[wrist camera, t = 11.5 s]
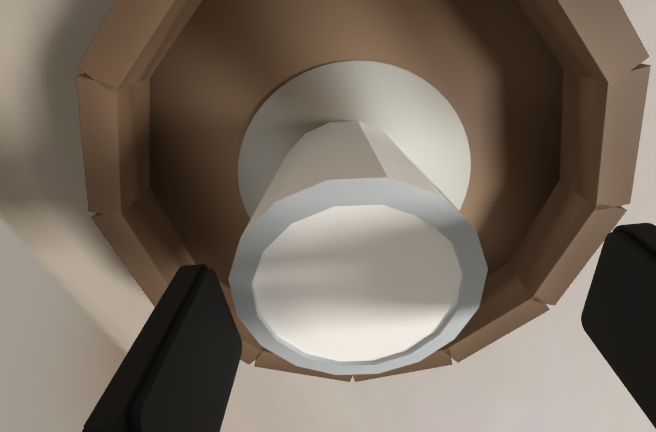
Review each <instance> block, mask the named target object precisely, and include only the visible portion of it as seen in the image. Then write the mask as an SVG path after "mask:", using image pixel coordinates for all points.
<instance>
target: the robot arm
mask: <svg viewBox="0 0 656 432" xmlns="http://www.w3.org/2000/svg"><path fill="white" fill-rule="evenodd" d="M581 322H582V326H583V328H584V330H585V332H586V333H587V335H588V336H589V337H590V339H591V340H592V341H593V343H594V344H595V346H596V347H597V348H598V350H599V351H600V352H601V354H602V355H603V357H604V358H605V359H606V361H607V362H608V363H609V365H610V366H611V368H612V369H613V370H614V372H615V373H616V375H617V376H618V377H619V379H620V380H621V381H622V383H623V384H624V386H625V387H626V388H627V390H628V391H629V392H630V394H631V395H632V397H633V398H634V399H635V401H636V402H637V403H638V405H639V406H640V408H641V409H642V410H643V412H644V413H645V414H646V416H647V417H648V419H649V420H650V421H651V423H652V424H653V425H654V427H655V428H656V226H655V225H653V224H651V223H640V224H629V225H620V226H617V227H616V228H615V229H614V230H613V232H612V233H609V234H608V235H607V236H606V238H605V241H604V244H603V247H602V251H601V254H600V257H599V260H598V264H597V267H596V270H595V273H594V276H593V280H592V283H591V286H590V289H589V293H588V296H587V299H586V302H585V305H584V309H583V312H582V316H581ZM241 354H242V340H241V337H240V334H239V332H238V329H237V327H236V324H235V321H234V319H233V316H232V314H231V311H230V309H229V306H228V303H227V301H226V298H225V296H224V293H223V291H222V288H221V285H220V283H219V280H218V278H217V275H216V273H215V271H214V270H213V269H209V268H208V267H207V266H206V265H205V264H196V265H185V266H181V267H180V268H179V269H178V270H177V272H176V274H175V275H174V277H173V279H172V280H171V282H170V284H169V285H168V287H167V289H166V290H165V292H164V294H163V295H162V297H161V299H160V300H159V302H158V304H157V305H156V307H155V309H154V310H153V312H152V314H151V315H150V317H149V319H148V320H147V322H146V324H145V325H144V327H143V328H142V330H141V332H140V333H139V335H138V337H137V338H136V340H135V342H134V343H133V345H132V347H131V348H130V350H129V352H128V353H127V355H126V357H125V358H124V360H123V362H122V364H121V365H120V367H119V368H118V370H117V372H116V373H115V375H114V377H113V378H112V380H111V382H110V383H109V385H108V387H107V388H106V390H105V392H104V393H103V395H102V397H101V398H100V400H99V402H98V403H97V405H96V406H95V408H94V410H93V412H92V413H91V415H90V417H89V418H88V420H87V421H86V423H85V425H84V429H83V431H82V432H220V428H221V425H222V421H223V418H224V414H225V411H226V407H227V403H228V400H229V396H230V393H231V389H232V386H233V382H234V379H235V375H236V372H237V368H238V365H239V361H240V357H241Z"/></svg>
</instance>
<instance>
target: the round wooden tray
mask: <svg viewBox="0 0 656 432" xmlns="http://www.w3.org/2000/svg"><path fill="white" fill-rule="evenodd" d="M648 57H649V55H648V53H647V51H646V50H645V48H644V46H643V44H642V42H641V40H640V39H639V37H638V35H637V33H636V31H635V29H634V28H633V26H632V24H631V22H630V20H629V18H628V17H627V15H626V13H625V11H624V9H623V7H622V6H621V4H620V2H619V0H116V1H115V3H114V5H113V7H112V8H111V10H110V12H109V14H108V15H107V17H106V19H105V20H104V22H103V24H102V26H101V27H100V29H99V31H98V33H97V34H96V36H95V38H94V40H93V41H92V43H91V45H90V47H89V48H88V50H87V52H86V53H85V55H84V57H83V59H82V60H81V62H80V64H79V66H78V68H80V69H81V70H82V71H83V72H85V74H81V75H77V76H76V82H77V92H78V103H79V113H80V124H81V135H82V145H83V156H84V166H85V177H86V187H87V198H88V209H89V211H91V212H96V214H95V215H94V216H93V217H92V219H93V221H94V222H95V224H96V225H97V226H98V228H99V229H100V231H101V232H102V233H103V235H104V236H105V238H106V239H107V240H108V242H109V243H110V245H111V246H112V247H113V249H114V250H115V252H116V253H117V254H118V256H119V257H120V259H121V260H122V262H123V263H124V264H125V266H126V267H127V269H128V270H129V271H130V273H131V274H132V276H133V277H134V278H135V280H136V281H137V283H138V284H139V285H140V287H141V288H142V290H143V291H144V292H145V294H146V295H147V297H148V298H149V299H150V301H151V302H152V304H153V305H154V307H156V305H157V304H158V302H159V300H160V299H161V297H162V295H163V294H164V292H165V290H166V289H167V287H168V285H169V284H170V282H171V280H172V279H173V277H174V275H175V274H176V272H177V270H178V269H179V268H180V267H181V266H185V265H196V264H205V265H206V266H207V267H208V268H209V269H213V270H214V271H215V273H216V275H217V278H218V280H219V283H220V285H221V288H222V291H223V293H224V296H225V298H226V301H227V303H228V306H229V309H230V311H231V314H232V316H233V319H234V321H235V324H236V327H237V329H238V332H239V334H240V337H241V340H242V354H241V357H240V360H242V361H244V362H245V363H247V364H250V363H252V362H253V361H254V360H255V359H256V361H255V367H261V368H267V369H274V370H280V371H286V372H292V373H298V374H304V375H311V376H317V377H323V378H329V379H335V380H342V381H348V382H350V380H351V378H352V376H353V377H354V379H355V382H357V381H363V380H368V379H374V378H379V377H385V376H391V375H396V374H402V373H407V372H413V371H419V370H424V369H430V368H435V367H441V366H447V365H452V360H451V358H453V359H454V360H455V361H457V362H460V361H461V360H463V359H465V358H467V357H468V356H470V355H472V354H473V353H475V352H477V351H479V350H480V349H482V348H484V347H486V346H487V345H489V344H491V343H493V342H494V341H496V340H498V339H500V338H501V337H503V336H505V335H506V334H508V333H510V332H512V331H513V330H515V329H517V328H519V327H520V326H522V325H524V324H526V323H527V322H529V321H531V320H532V319H534V318H536V317H538V316H539V315H541V314H543V313H545V312H546V311H548V310H550V309H549V308H548V307H547V305H546V304H550V305H555V304H556V303H557V302H558V300H559V299H560V298H561V296H562V295H563V294H564V292H565V291H566V290H567V288H568V287H569V286H570V284H571V283H572V282H573V280H574V279H575V278H576V277H577V275H578V274H579V273H580V271H581V270H582V269H583V267H584V266H585V265H586V263H587V262H588V261H589V259H590V258H591V257H592V255H593V254H594V253H595V252H596V250H597V249H598V248H599V246H600V245H601V244H602V242H603V241H604V240H605V238H606V236H607V235H608V234H609V233H610V232H611V231H612V229H613V228H614V227H615V225H616V224H617V223H618V221H619V220H620V219H621V217H622V216H623V215H624V213H625V212H626V211H627V210H626V209H624V208H623V207H621V205H625V204H630V200H631V193H632V187H633V180H634V173H635V166H636V160H637V153H638V146H639V140H640V133H641V126H642V119H643V113H644V106H645V99H646V93H647V86H648V79H649V73H650V66H651V65H645V64H640V63H642V62H643V61H644V60H645V59H647V58H648ZM345 121H359V122H362V123H365V124H367V125H370V126H373V127H375V128H378V129H381V130H383V131H384V132H385V133H386V134H387V135H388V136H389V137H390V138H391V139H392V140H393V141H394V142H395V143H397V144H398V145H399V146H400V147H401V148H402V149H403V151H404V152H405V153H406V154H407V155H408V156H409V157H410V158H411V159H412V160H413V161H414V163H415V164H416V165H417V166H418V167H419V168H420V169H421V170H422V171H423V172H424V173H425V174H426V176H427V177H428V178H429V179H430V180H431V181H432V182H433V183H434V184H435V185H436V186H437V188H438V189H439V190H440V191H441V192H442V193H443V194H444V195H445V196H446V197H447V198H448V199H449V201H450V202H451V203H452V204H453V205H454V206H455V207H456V208H457V209H458V210H459V211H460V212H461V214H462V215H463V216H464V217H465V218H466V219H467V220H468V221H469V222H470V223H471V224H472V226H473V227H474V228H475V229H476V231H477V234H478V238H479V241H480V244H481V248H482V251H483V254H484V258H485V261H486V264H487V268H488V271H487V275H486V280H485V284H484V289H483V293H482V297H481V302H480V306H479V308H478V310H477V311H476V312H475V313H474V315H473V316H472V317H471V319H470V320H469V321H468V322H467V324H466V325H465V326H464V328H463V329H462V330H461V331H460V333H459V334H458V335H457V337H456V338H455V339H454V340H452V341H451V342H449V343H448V344H446V345H445V346H443V347H441V348H440V349H438V350H437V351H435V352H434V353H432V354H431V355H429V356H427V357H426V358H424V359H423V360H421V361H420V362H416V363H413V364H410V365H406V366H403V367H400V368H396V369H393V370H389V371H386V372H383V373H379V374H354V375H334V374H329V373H325V372H321V371H316V370H312V369H308V368H303V367H299V366H295V365H294V364H292V363H290V362H288V361H287V360H285V359H283V358H281V357H280V356H278V355H276V354H275V353H273V352H271V351H269V350H268V349H266V348H264V347H262V346H261V345H260V344H259V343H258V341H257V340H256V339H255V338H254V336H253V335H252V334H251V333H250V331H249V330H248V329H247V328H246V327H245V325H244V324H243V323H242V322H241V320H240V319H239V318H238V317H237V314H236V310H235V305H234V301H233V297H232V292H231V288H230V283H229V279H228V278H229V275H230V272H231V268H232V265H233V261H234V258H235V255H236V251H237V248H238V244H239V241H240V238H241V236H242V234H243V233H244V231H245V229H246V227H247V225H248V224H249V222H250V220H251V218H252V216H253V215H254V213H255V211H256V209H257V207H258V205H259V204H260V202H261V200H262V198H263V196H264V195H265V193H266V191H267V189H268V187H269V186H270V184H271V182H272V180H273V178H274V177H275V175H276V173H277V171H278V169H279V168H280V166H281V164H282V162H283V160H284V159H285V157H286V155H287V153H288V152H289V151H290V150H291V149H292V148H293V146H294V145H295V144H296V143H297V142H298V141H299V140H300V139H301V138H302V136H303V135H304V134H305V133H307V132H310V131H312V130H314V129H316V128H318V127H320V126H323V125H325V124H327V123H329V122H345ZM545 303H546V304H545Z"/></svg>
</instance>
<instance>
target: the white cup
mask: <svg viewBox="0 0 656 432" xmlns="http://www.w3.org/2000/svg"><path fill="white" fill-rule="evenodd" d="M487 271H488V268H487V264H486V261H485V258H484V254H483V251H482V248H481V244H480V241H479V238H478V234H477V231H476V229H475V228H474V227H473V226H472V224H471V223H470V222H469V221H468V220H467V219H466V218H465V217H464V216H463V215H462V214H461V212H460V211H459V210H458V209H457V208H456V207H455V206H454V205H453V204H452V203H451V202H450V201H449V199H448V198H447V197H446V196H445V195H444V194H443V193H442V192H441V191H440V190H439V189H438V188H437V186H436V185H435V184H434V183H433V182H432V181H431V180H430V179H429V178H428V177H427V176H426V174H425V173H424V172H423V171H422V170H421V169H420V168H419V167H418V166H417V165H416V164H415V163H414V161H413V160H412V159H411V158H410V157H409V156H408V155H407V154H406V153H405V152H404V151H403V149H402V148H401V147H400V146H399V145H398V144H397V143H395V142H394V141H393V140H392V139H391V138H390V137H389V136H388V135H387V134H386V133H385V132H384V131H383V130H381V129H378V128H375V127H373V126H370V125H367V124H365V123H362V122H359V121H345V122H329V123H327V124H325V125H323V126H320V127H318V128H316V129H314V130H312V131H310V132H307V133H305V134H304V135H303V136H302V138H301V139H300V140H299V141H298V142H297V143H296V144H295V145H294V146H293V148H292V149H291V150H290V151H289V152H288V153H287V155H286V157H285V159H284V160H283V162H282V164H281V166H280V168H279V169H278V171H277V173H276V175H275V177H274V178H273V180H272V182H271V184H270V186H269V187H268V189H267V191H266V193H265V195H264V196H263V198H262V200H261V202H260V204H259V205H258V207H257V209H256V211H255V213H254V215H253V216H252V218H251V220H250V222H249V224H248V225H247V227H246V229H245V231H244V233H243V234H242V236H241V238H240V241H239V244H238V248H237V251H236V255H235V258H234V261H233V265H232V268H231V272H230V275H229V278H228V279H229V283H230V288H231V292H232V297H233V301H234V305H235V310H236V314H237V317H238V318H239V319H240V320H241V322H242V323H243V324H244V325H245V327H246V328H247V329H248V330H249V331H250V333H251V334H252V335H253V336H254V338H255V339H256V340H257V341H258V343H259V344H260V345H261V346H262V347H264V348H266V349H268V350H269V351H271V352H273V353H275V354H276V355H278V356H280V357H281V358H283V359H285V360H287V361H288V362H290V363H292V364H294V365H295V366H299V367H303V368H308V369H312V370H316V371H321V372H325V373H329V374H334V375H354V374H379V373H383V372H386V371H389V370H393V369H396V368H400V367H403V366H406V365H410V364H413V363H416V362H420V361H421V360H423V359H424V358H426V357H427V356H429V355H431V354H432V353H434V352H435V351H437V350H438V349H440V348H441V347H443V346H445V345H446V344H448V343H449V342H451V341H452V340H454V339H455V338H456V337H457V335H458V334H459V333H460V331H461V330H462V329H463V328H464V326H465V325H466V324H467V322H468V321H469V320H470V319H471V317H472V316H473V315H474V313H475V312H476V311H477V310H478V308H479V306H480V302H481V297H482V293H483V289H484V284H485V280H486V275H487Z"/></svg>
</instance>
